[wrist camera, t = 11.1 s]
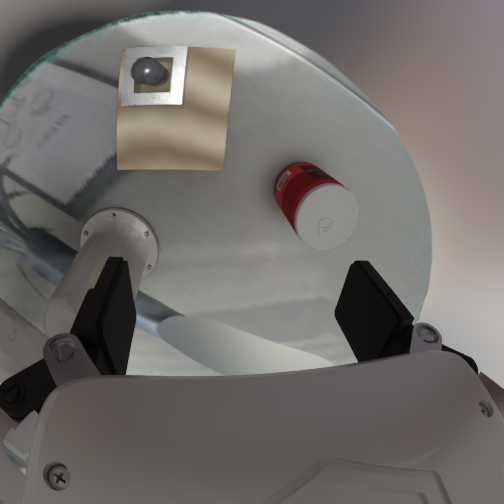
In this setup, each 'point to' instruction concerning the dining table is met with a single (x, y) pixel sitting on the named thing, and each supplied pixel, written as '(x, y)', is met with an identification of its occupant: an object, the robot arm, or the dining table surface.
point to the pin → (149, 72)
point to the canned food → (316, 206)
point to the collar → (178, 78)
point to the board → (180, 118)
